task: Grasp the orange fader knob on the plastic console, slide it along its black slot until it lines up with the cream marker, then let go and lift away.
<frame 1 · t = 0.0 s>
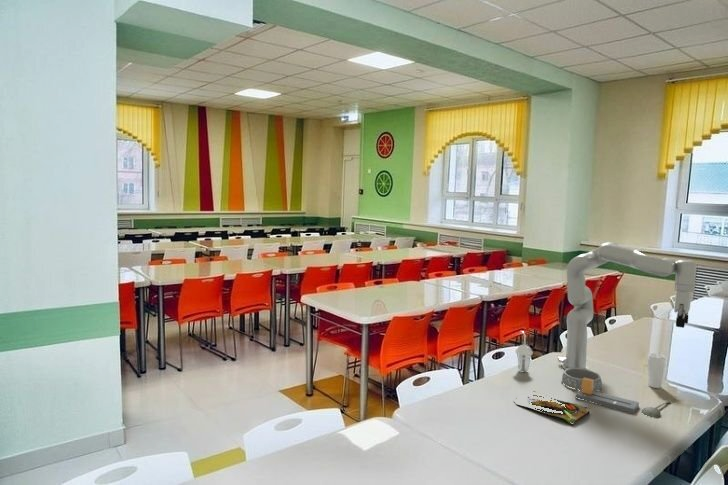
hand: (681, 324, 225), 31 cm above the table, tool pointing down, fingers open, 9 cm apart
fader console: (606, 402, 215), on the table
dog bowl: (581, 385, 236), on the table
cup with straw: (523, 371, 253), on the table
fader knob: (587, 386, 220), point 5 cm above the table, slide at 0.0 cm
soupspoon: (658, 411, 209), on the table
prepared meal: (550, 409, 209), on the table
drinking glass: (654, 386, 234), on the table
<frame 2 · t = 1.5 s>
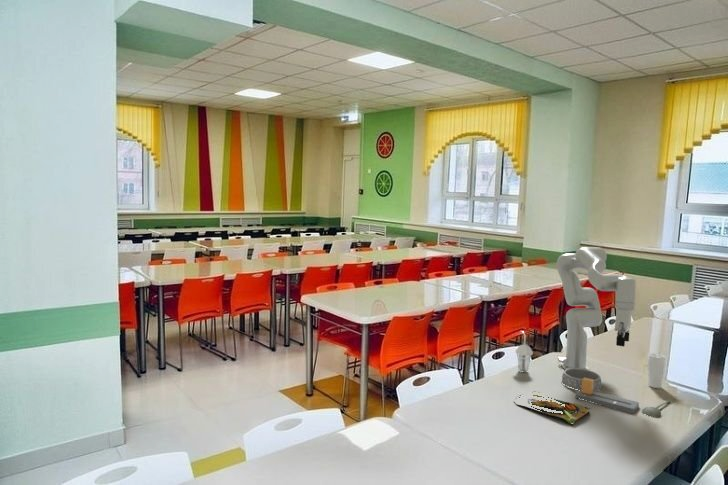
hand: (622, 343, 220), 24 cm above the table, tool pointing down, fingers open, 9 cm apart
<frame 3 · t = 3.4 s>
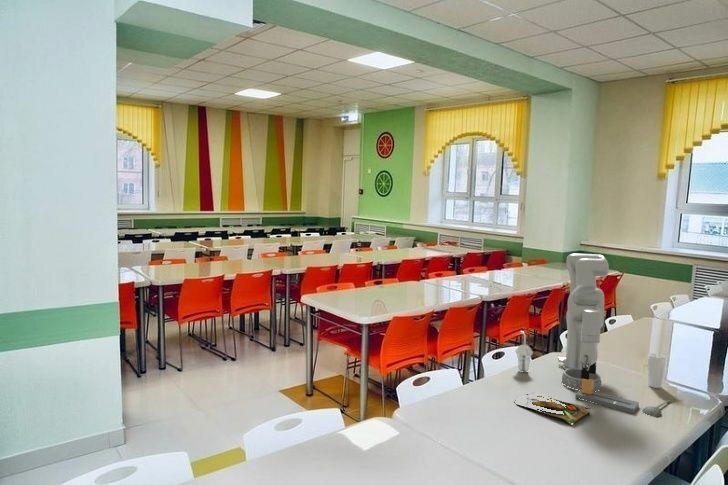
hand: (588, 376, 219), 10 cm above the table, tool pointing down, fingers open, 9 cm apart
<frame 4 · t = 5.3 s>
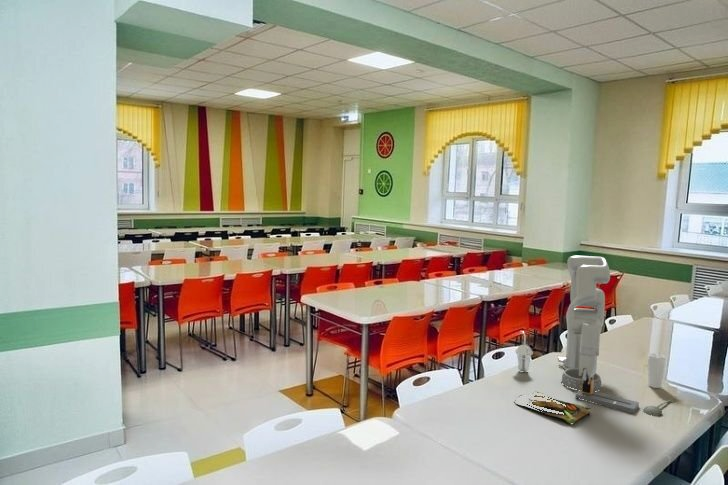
hand: (587, 390, 220), 3 cm above the table, tool pointing down, fingers closed on fader knob, 3 cm apart
fader knob: (587, 386, 220), point 5 cm above the table, slide at 0.0 cm, touching gripper
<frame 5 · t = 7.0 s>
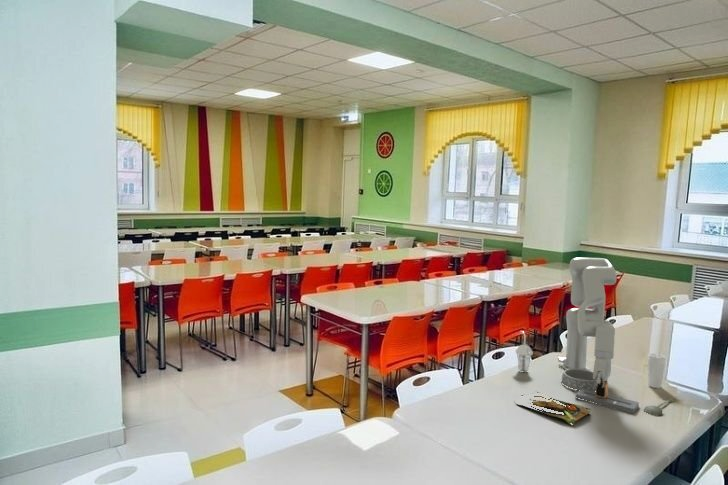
hand: (601, 394, 216), 3 cm above the table, tool pointing down, fingers closed on fader knob, 3 cm apart
fader knob: (601, 389, 216), point 5 cm above the table, slide at 5.8 cm, touching gripper
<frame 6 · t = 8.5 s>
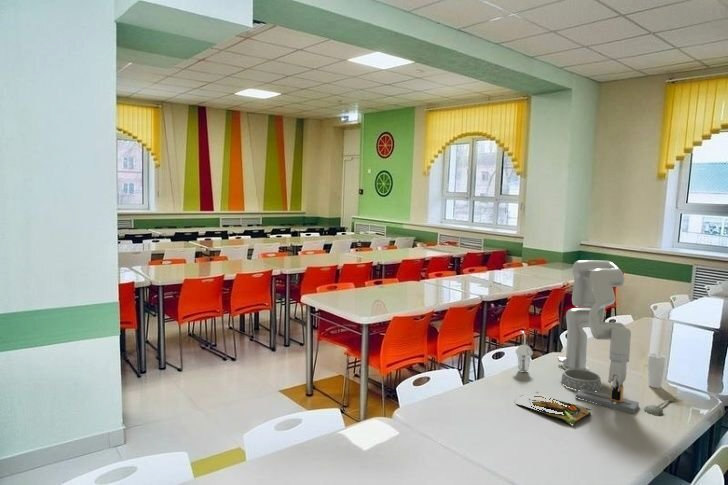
hand: (616, 397, 212), 3 cm above the table, tool pointing down, fingers closed on fader knob, 3 cm apart
fader knob: (617, 393, 212), point 5 cm above the table, slide at 11.9 cm, touching gripper
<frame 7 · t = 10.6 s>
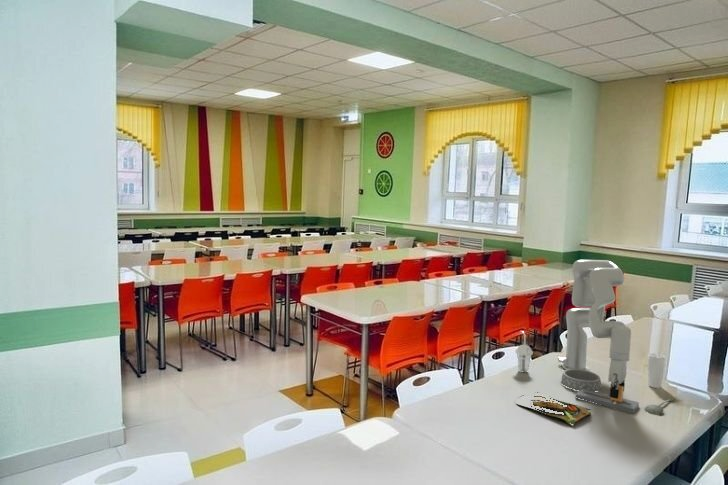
hand: (616, 394, 212), 5 cm above the table, tool pointing down, fingers open, 9 cm apart
fader knob: (617, 393, 212), point 5 cm above the table, slide at 12.0 cm
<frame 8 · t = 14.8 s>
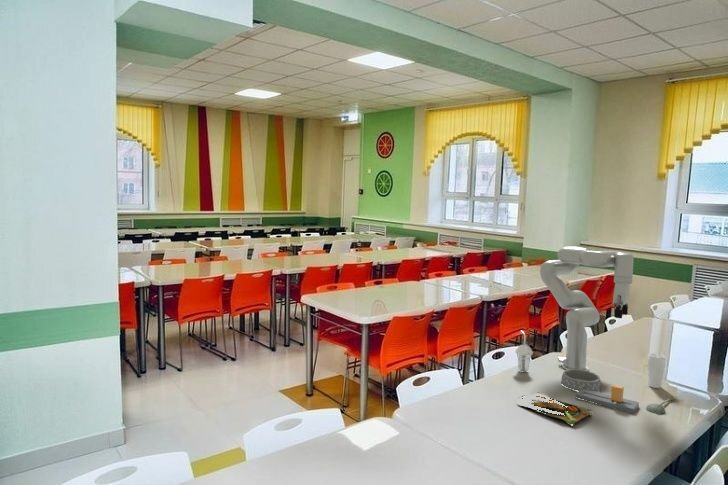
hand: (620, 315, 232), 33 cm above the table, tool pointing down, fingers open, 9 cm apart
soupspoon: (662, 407, 212), on the table
at the end: fader knob slide at 12.0 cm; the gripper is holding nothing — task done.
